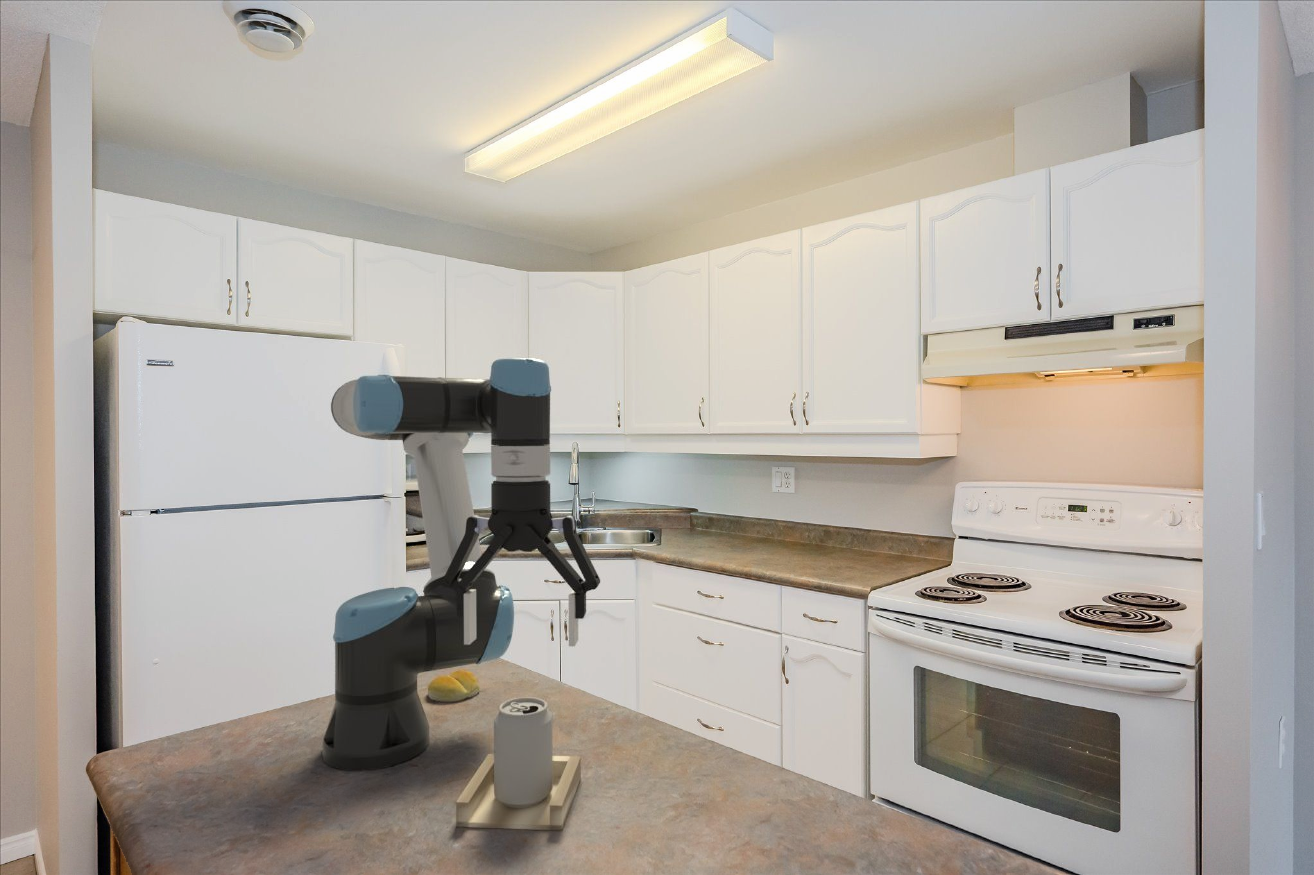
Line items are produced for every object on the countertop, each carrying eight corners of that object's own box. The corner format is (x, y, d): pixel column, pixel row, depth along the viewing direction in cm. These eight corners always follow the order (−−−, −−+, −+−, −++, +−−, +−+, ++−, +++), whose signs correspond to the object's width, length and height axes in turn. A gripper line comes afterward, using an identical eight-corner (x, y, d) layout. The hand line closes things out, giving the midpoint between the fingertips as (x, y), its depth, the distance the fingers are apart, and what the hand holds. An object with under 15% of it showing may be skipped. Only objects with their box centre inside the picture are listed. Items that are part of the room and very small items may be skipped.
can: (539, 814, 89) (539, 718, 88) (483, 807, 90) (483, 712, 90) (560, 785, 96) (560, 696, 96) (508, 779, 97) (508, 691, 97)
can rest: (456, 826, 87) (456, 802, 87) (488, 775, 100) (488, 753, 100) (562, 830, 86) (561, 805, 86) (580, 778, 99) (580, 756, 99)
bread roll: (420, 695, 131) (420, 673, 131) (464, 683, 137) (464, 662, 137) (441, 708, 125) (441, 685, 125) (487, 695, 131) (487, 673, 131)
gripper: (415, 480, 90) (416, 649, 90) (613, 481, 88) (613, 653, 88) (437, 476, 97) (438, 632, 97) (620, 477, 96) (620, 635, 96)
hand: (521, 642), depth 93 cm, fingers open, 13 cm apart
